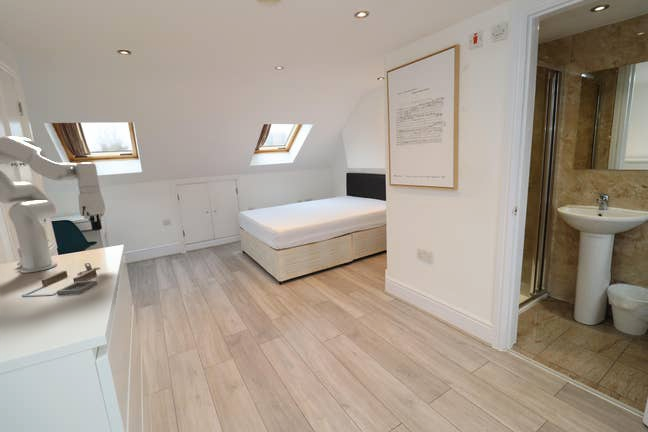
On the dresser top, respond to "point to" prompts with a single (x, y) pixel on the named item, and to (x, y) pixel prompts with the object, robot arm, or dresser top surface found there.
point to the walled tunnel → (64, 274)
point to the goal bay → (37, 295)
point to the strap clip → (87, 269)
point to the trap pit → (77, 287)
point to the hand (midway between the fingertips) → (97, 229)
